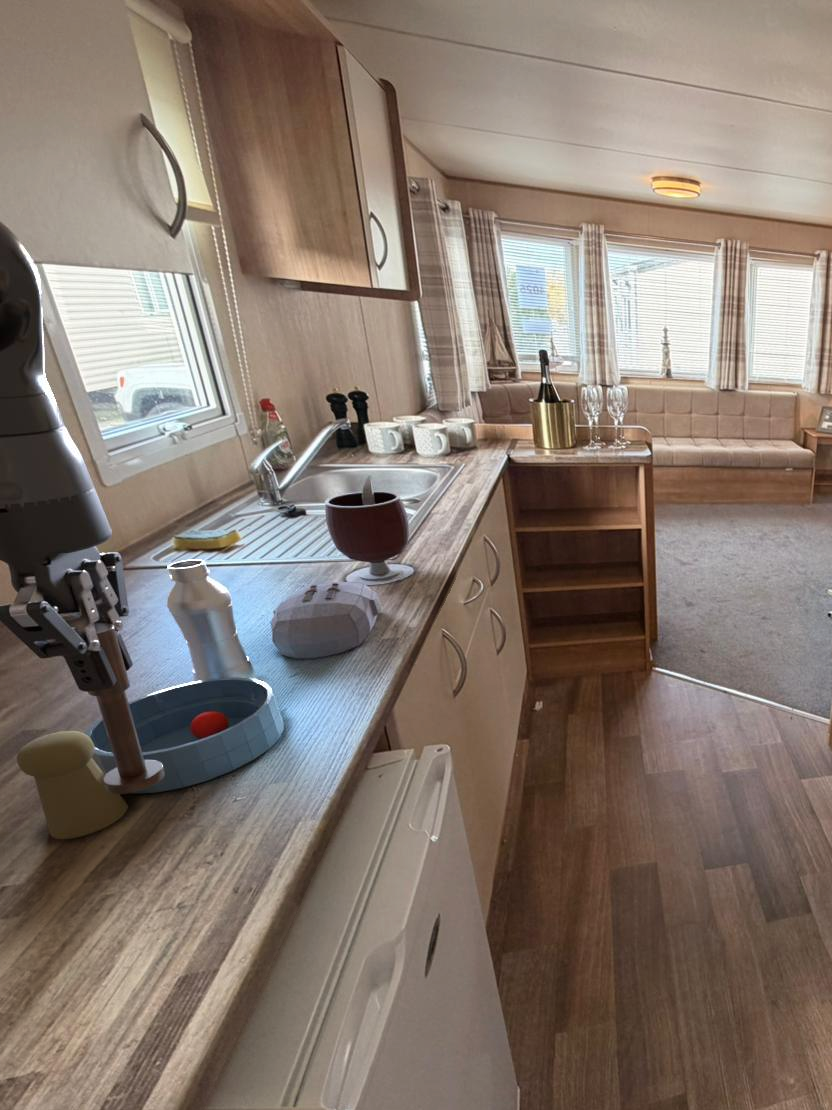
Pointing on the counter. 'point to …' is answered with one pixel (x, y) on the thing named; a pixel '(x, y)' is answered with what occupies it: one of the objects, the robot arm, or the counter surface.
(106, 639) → the wooden peg stand
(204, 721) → the tomato
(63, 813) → the cork
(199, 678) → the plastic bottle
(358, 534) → the mate gourd
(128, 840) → the counter surface
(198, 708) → the bowl
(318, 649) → the grey rounded bag
